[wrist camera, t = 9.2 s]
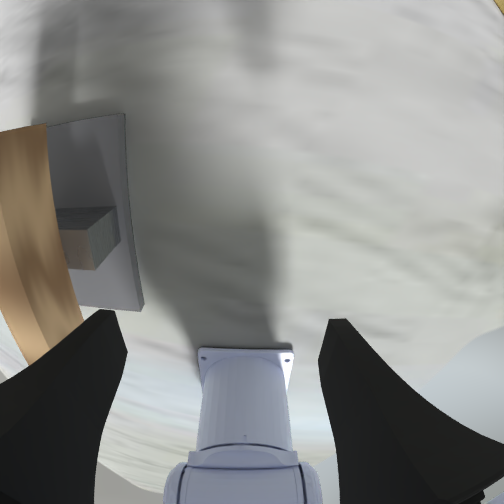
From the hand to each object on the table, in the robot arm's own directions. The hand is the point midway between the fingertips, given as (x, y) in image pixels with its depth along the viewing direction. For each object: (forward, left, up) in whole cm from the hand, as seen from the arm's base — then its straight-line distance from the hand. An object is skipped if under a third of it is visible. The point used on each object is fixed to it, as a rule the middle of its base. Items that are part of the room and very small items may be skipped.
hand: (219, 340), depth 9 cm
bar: (0, +11, -5) cm, 12 cm away
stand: (0, +11, -10) cm, 15 cm away
